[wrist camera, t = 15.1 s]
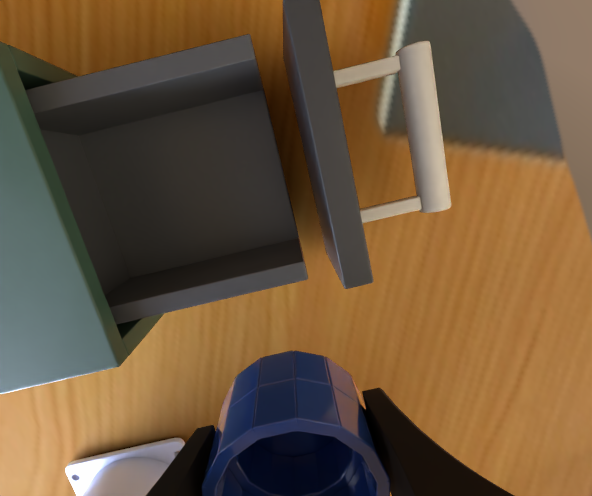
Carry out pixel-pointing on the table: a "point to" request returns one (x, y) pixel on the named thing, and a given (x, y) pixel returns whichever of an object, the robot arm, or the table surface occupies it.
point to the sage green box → (46, 253)
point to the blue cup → (295, 433)
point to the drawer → (224, 166)
